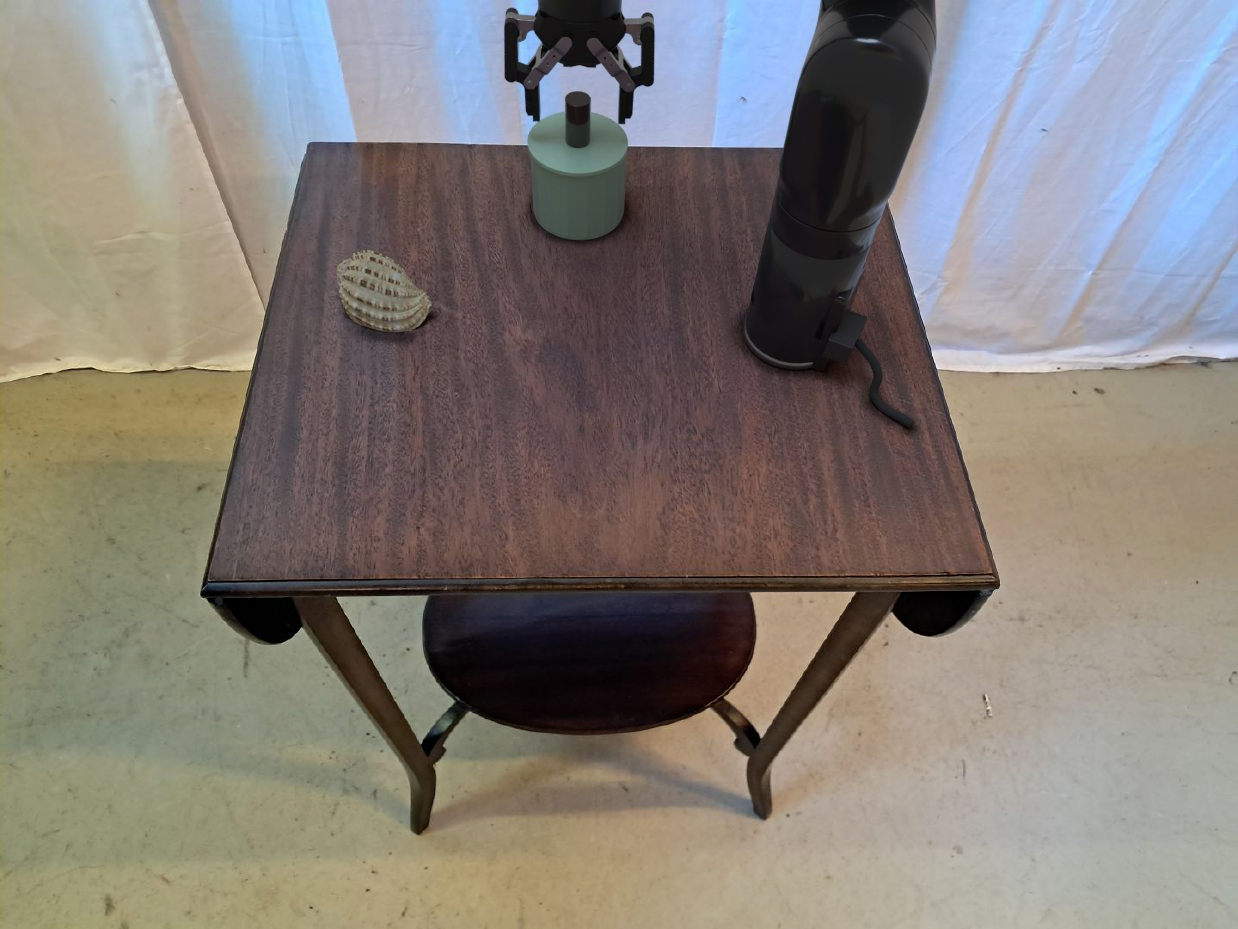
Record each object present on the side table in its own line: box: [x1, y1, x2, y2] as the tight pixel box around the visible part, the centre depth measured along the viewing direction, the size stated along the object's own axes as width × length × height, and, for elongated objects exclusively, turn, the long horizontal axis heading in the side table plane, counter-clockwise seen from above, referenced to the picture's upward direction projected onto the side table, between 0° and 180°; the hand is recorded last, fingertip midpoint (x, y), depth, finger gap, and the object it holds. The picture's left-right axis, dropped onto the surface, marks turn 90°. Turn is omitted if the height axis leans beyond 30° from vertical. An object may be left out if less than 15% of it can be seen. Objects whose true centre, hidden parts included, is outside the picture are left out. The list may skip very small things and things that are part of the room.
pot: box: [530, 153, 628, 241], centre depth 95 cm, size 10×10×8 cm
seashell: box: [335, 249, 434, 333], centre depth 87 cm, size 8×6×10 cm
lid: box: [526, 90, 629, 177], centre depth 89 cm, size 10×10×6 cm
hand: (579, 118), depth 89 cm, fingers open, 8 cm apart
